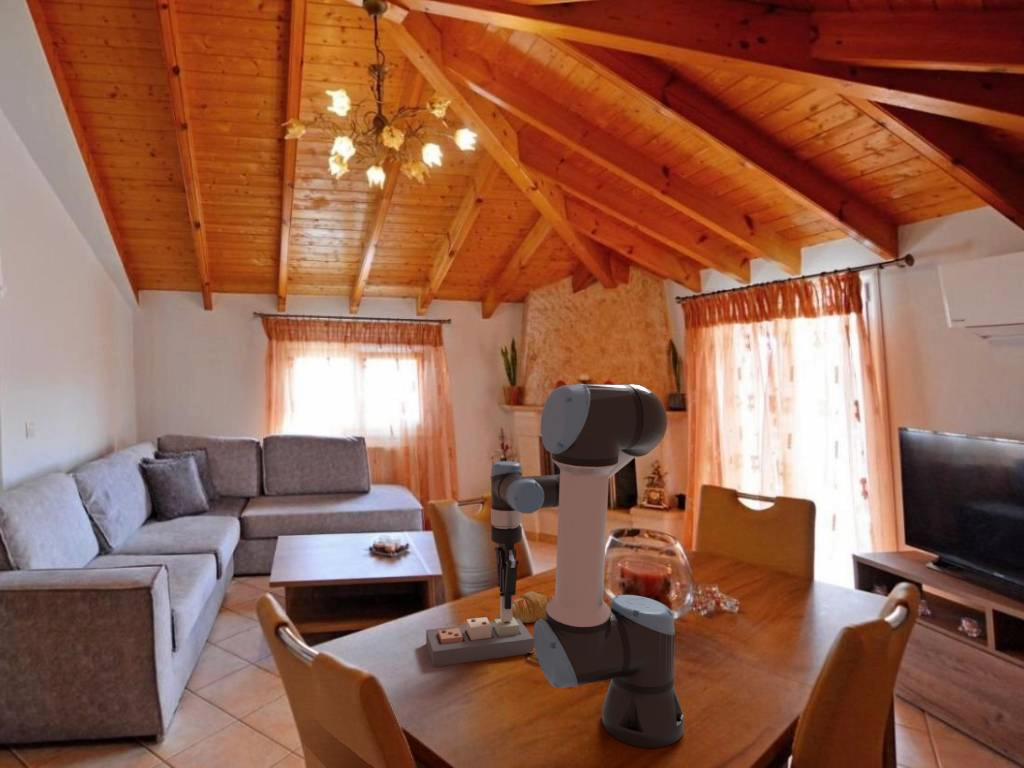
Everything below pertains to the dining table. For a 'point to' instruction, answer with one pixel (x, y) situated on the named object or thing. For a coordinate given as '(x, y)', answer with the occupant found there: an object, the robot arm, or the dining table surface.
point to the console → (477, 646)
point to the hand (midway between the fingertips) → (506, 620)
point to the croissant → (530, 607)
